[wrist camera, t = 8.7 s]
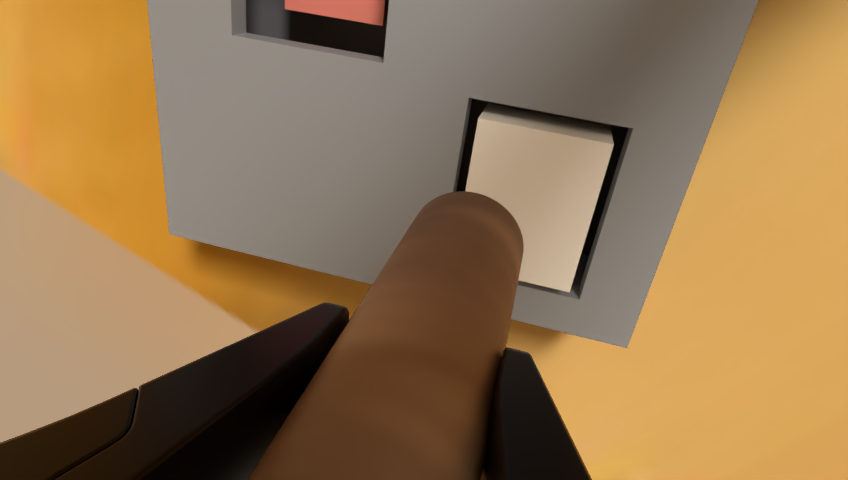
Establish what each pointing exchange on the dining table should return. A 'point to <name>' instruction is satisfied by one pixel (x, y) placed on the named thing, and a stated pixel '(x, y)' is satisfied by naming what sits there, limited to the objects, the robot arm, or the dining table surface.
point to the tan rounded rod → (413, 358)
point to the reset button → (344, 9)
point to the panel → (433, 126)
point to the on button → (542, 183)
